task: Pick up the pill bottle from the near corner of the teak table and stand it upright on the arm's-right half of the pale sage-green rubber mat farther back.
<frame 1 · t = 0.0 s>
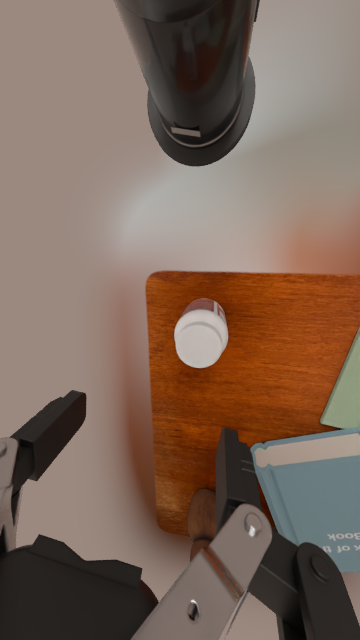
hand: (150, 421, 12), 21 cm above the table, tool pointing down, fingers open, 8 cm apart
pill bottle: (204, 317, 32), on the table
book: (315, 487, 37), on the table, touching mat
wooden figurine: (207, 494, 42), on the table
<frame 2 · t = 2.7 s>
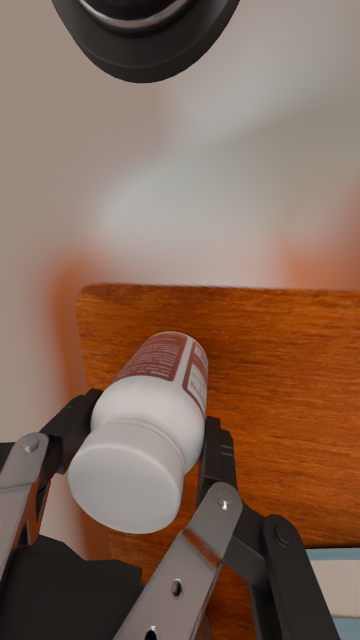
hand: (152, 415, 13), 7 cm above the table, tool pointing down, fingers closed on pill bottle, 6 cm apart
pill bottle: (174, 361, 19), on the table, touching gripper
book: (352, 614, 24), on the table, touching mat
wooden figurine: (189, 603, 29), on the table
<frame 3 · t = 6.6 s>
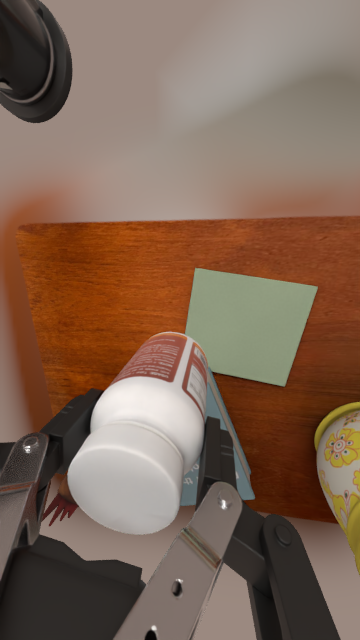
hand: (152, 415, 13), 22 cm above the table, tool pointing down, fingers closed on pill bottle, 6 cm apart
pill bottle: (174, 361, 19), point 16 cm above the table, touching gripper
book: (189, 429, 40), on the table, touching mat
wooden figurine: (103, 442, 45), on the table
flowerpot: (358, 433, 35), on the table
mat: (241, 328, 33), on the table
when the fingers open (7 cm above the table, at t = 10.8 s): pill bottle stays where it is, resting on mat.
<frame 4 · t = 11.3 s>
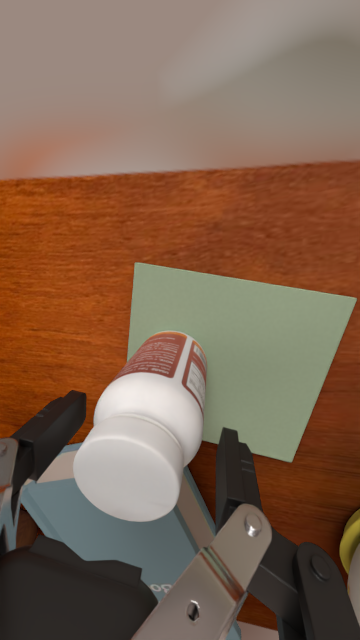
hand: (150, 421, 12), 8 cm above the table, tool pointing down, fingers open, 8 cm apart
pill bottle: (174, 359, 19), resting on mat
book: (143, 509, 26), on the table, touching mat
wooden figurine: (26, 516, 31), on the table
mat: (218, 366, 19), on the table
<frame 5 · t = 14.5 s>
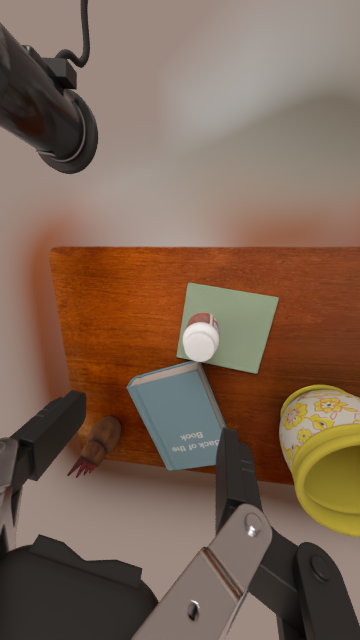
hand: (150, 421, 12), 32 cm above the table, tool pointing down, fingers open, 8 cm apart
pill bottle: (203, 325, 43), resting on mat
book: (183, 409, 50), on the table, touching mat
wooden figurine: (113, 421, 55), on the table
flowerpot: (314, 410, 45), on the table
mat: (223, 329, 43), on the table
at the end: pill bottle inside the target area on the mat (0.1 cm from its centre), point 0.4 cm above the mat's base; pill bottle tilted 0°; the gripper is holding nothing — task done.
